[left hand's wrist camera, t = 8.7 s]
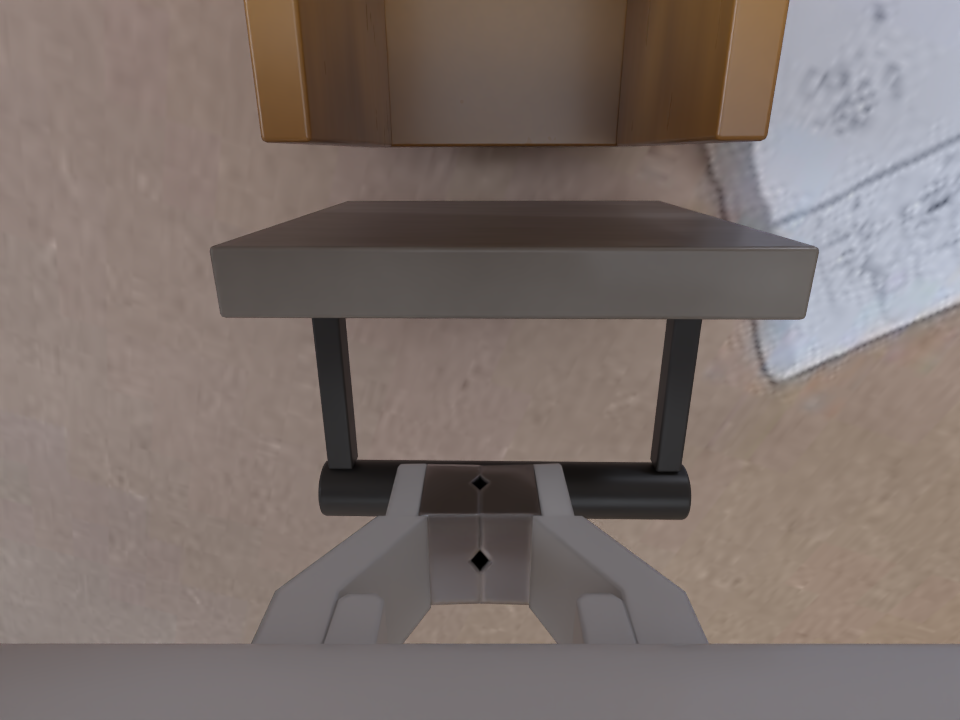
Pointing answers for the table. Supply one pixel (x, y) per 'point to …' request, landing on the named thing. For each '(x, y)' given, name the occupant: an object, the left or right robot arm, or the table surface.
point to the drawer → (514, 224)
